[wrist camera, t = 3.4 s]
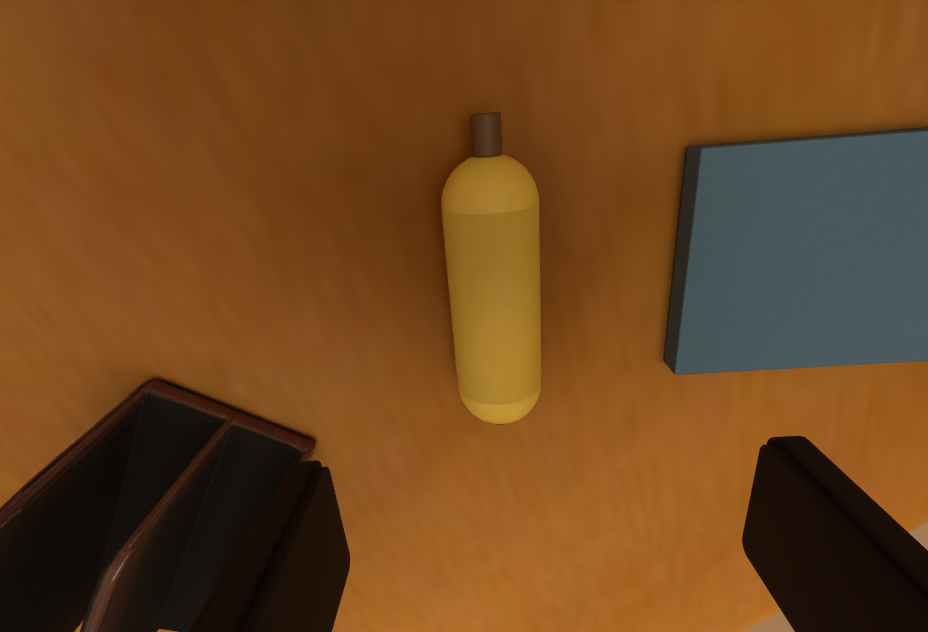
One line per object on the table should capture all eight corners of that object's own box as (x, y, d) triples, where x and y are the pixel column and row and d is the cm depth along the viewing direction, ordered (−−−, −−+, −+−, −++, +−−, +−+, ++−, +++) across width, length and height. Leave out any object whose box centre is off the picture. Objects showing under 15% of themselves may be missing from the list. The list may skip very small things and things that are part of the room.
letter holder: (96, 588, 33) (-151, 894, 20) (151, 372, 26) (-178, 629, 13) (232, 630, 34) (86, 940, 21) (319, 439, 27) (180, 727, 14)
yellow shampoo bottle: (536, 397, 26) (547, 446, 22) (462, 402, 26) (460, 450, 22) (531, 110, 20) (545, 107, 16) (436, 118, 20) (428, 117, 16)
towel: (663, 361, 25) (675, 376, 23) (686, 146, 21) (702, 148, 19) (1051, 339, 24) (1089, 353, 22) (1159, 109, 20) (1215, 108, 18)
